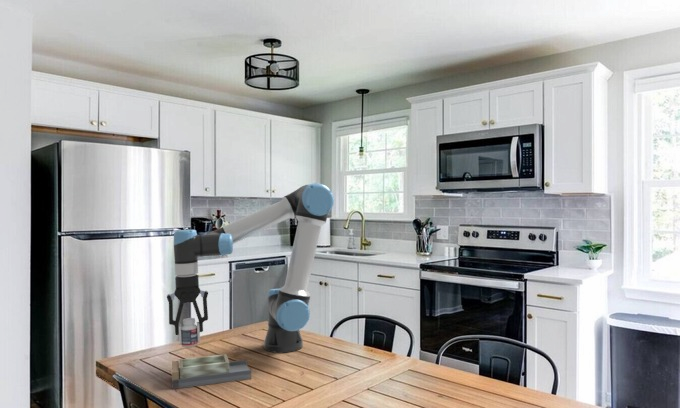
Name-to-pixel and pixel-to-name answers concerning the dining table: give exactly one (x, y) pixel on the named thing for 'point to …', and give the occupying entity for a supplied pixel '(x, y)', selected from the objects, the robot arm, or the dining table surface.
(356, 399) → the dining table surface
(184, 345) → the pill bottle
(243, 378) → the rail board
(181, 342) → the robot arm
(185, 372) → the caddy
